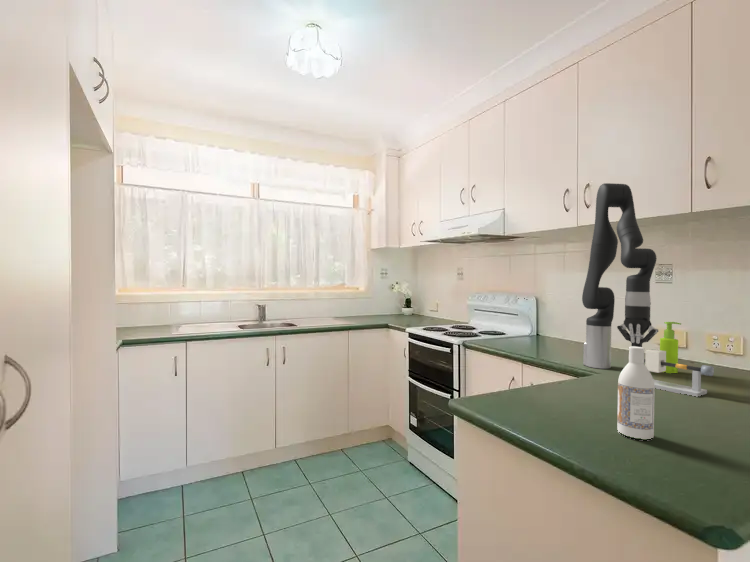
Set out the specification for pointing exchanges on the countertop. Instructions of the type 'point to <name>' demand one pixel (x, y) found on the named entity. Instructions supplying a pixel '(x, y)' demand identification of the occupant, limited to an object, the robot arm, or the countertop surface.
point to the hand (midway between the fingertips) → (636, 353)
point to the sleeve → (655, 360)
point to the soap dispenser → (670, 347)
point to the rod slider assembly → (696, 380)
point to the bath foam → (636, 397)
